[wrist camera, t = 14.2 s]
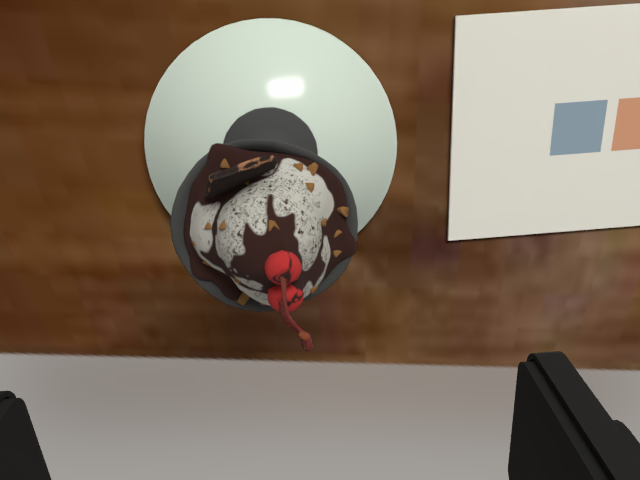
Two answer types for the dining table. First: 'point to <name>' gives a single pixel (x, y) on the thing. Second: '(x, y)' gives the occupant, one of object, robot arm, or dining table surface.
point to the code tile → (545, 122)
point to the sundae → (265, 217)
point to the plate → (273, 104)
